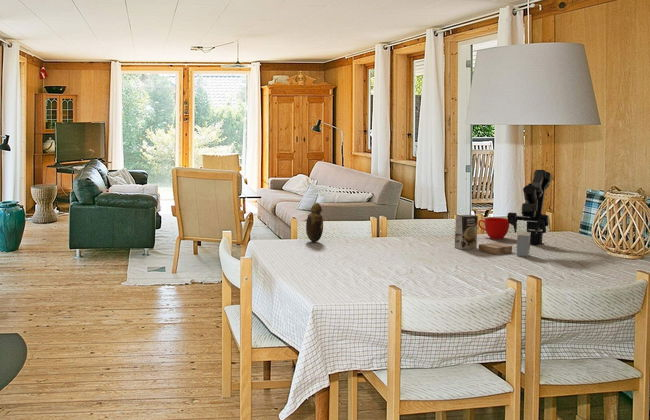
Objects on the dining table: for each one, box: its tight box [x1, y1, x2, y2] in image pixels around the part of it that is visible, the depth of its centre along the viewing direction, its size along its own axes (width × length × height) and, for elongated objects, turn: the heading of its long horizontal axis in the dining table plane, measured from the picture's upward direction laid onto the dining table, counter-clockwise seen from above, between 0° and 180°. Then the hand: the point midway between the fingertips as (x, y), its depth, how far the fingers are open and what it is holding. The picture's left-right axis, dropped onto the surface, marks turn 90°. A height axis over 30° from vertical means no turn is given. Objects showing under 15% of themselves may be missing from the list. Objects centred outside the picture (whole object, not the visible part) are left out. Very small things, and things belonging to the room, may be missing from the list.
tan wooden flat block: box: [478, 242, 513, 255], centre depth 359 cm, size 11×11×3 cm
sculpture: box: [305, 202, 324, 243], centre depth 380 cm, size 13×8×20 cm, turn 5°
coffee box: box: [454, 214, 479, 250], centre depth 367 cm, size 9×6×16 cm
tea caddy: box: [516, 230, 531, 258], centre depth 349 cm, size 5×5×11 cm
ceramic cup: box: [477, 217, 510, 240], centre depth 397 cm, size 13×17×10 cm
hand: (525, 233), depth 351 cm, fingers open, 9 cm apart
